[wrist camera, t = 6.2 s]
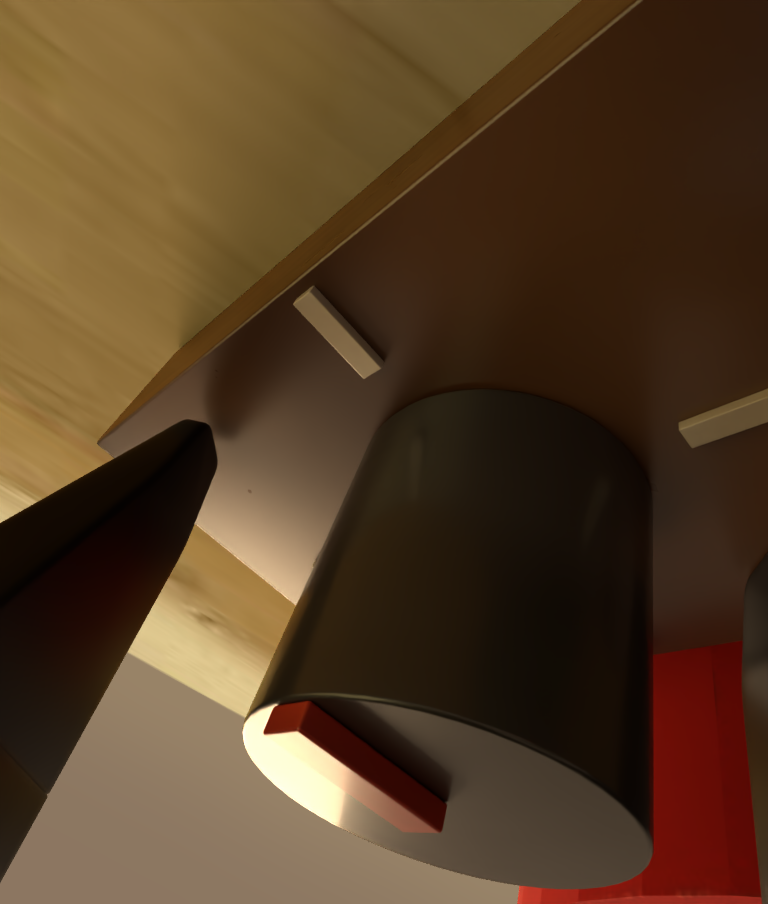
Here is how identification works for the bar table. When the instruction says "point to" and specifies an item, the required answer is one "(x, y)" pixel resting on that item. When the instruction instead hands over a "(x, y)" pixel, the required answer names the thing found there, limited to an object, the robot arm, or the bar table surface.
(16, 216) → the bar table surface
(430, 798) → the pointer knob
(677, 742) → the toy clock
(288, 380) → the dial panel
